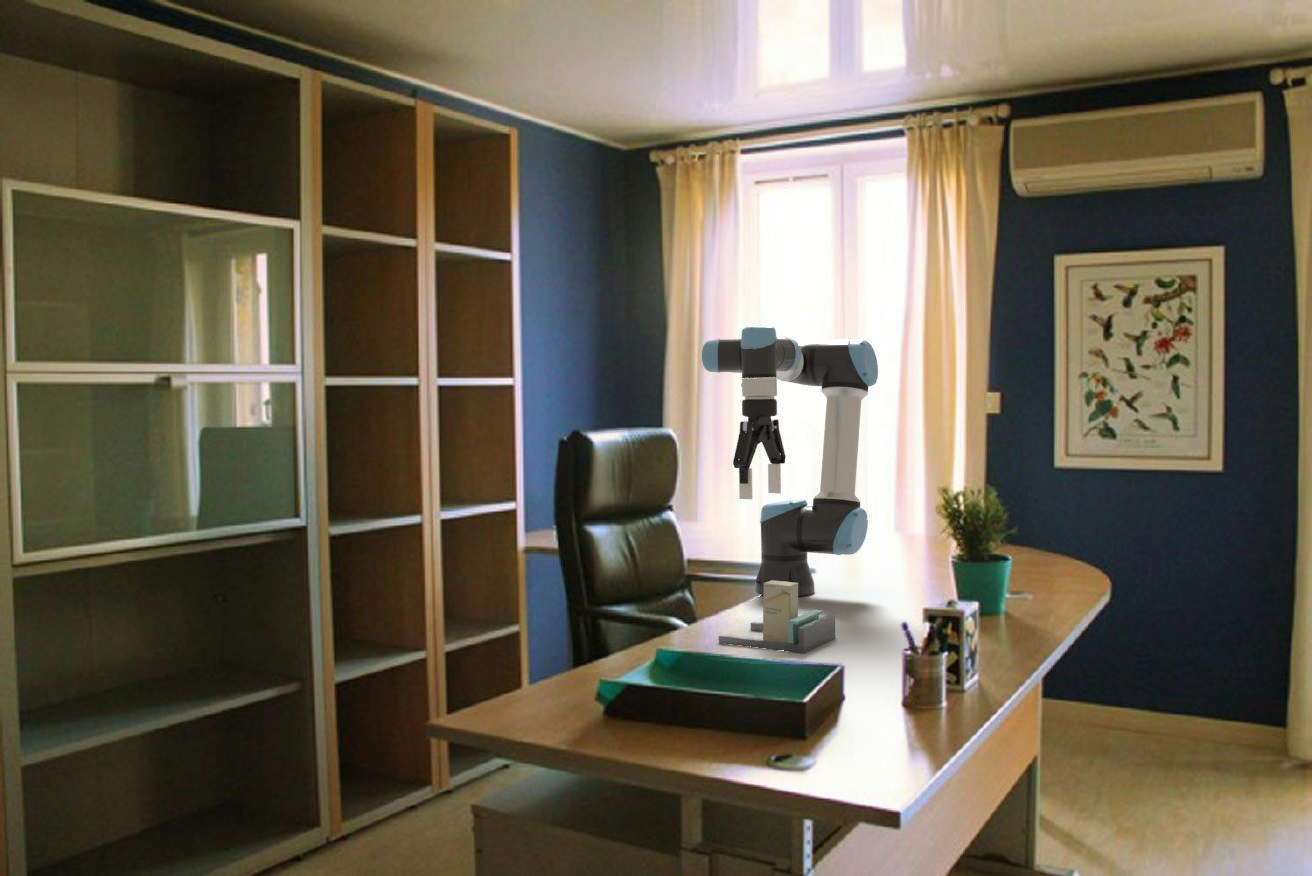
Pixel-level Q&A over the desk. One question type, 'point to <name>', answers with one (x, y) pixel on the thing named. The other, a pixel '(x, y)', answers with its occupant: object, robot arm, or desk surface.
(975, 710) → the desk surface
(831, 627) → the lane
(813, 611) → the block
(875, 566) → the desk surface
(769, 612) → the skincare box
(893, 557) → the desk surface
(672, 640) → the desk surface
